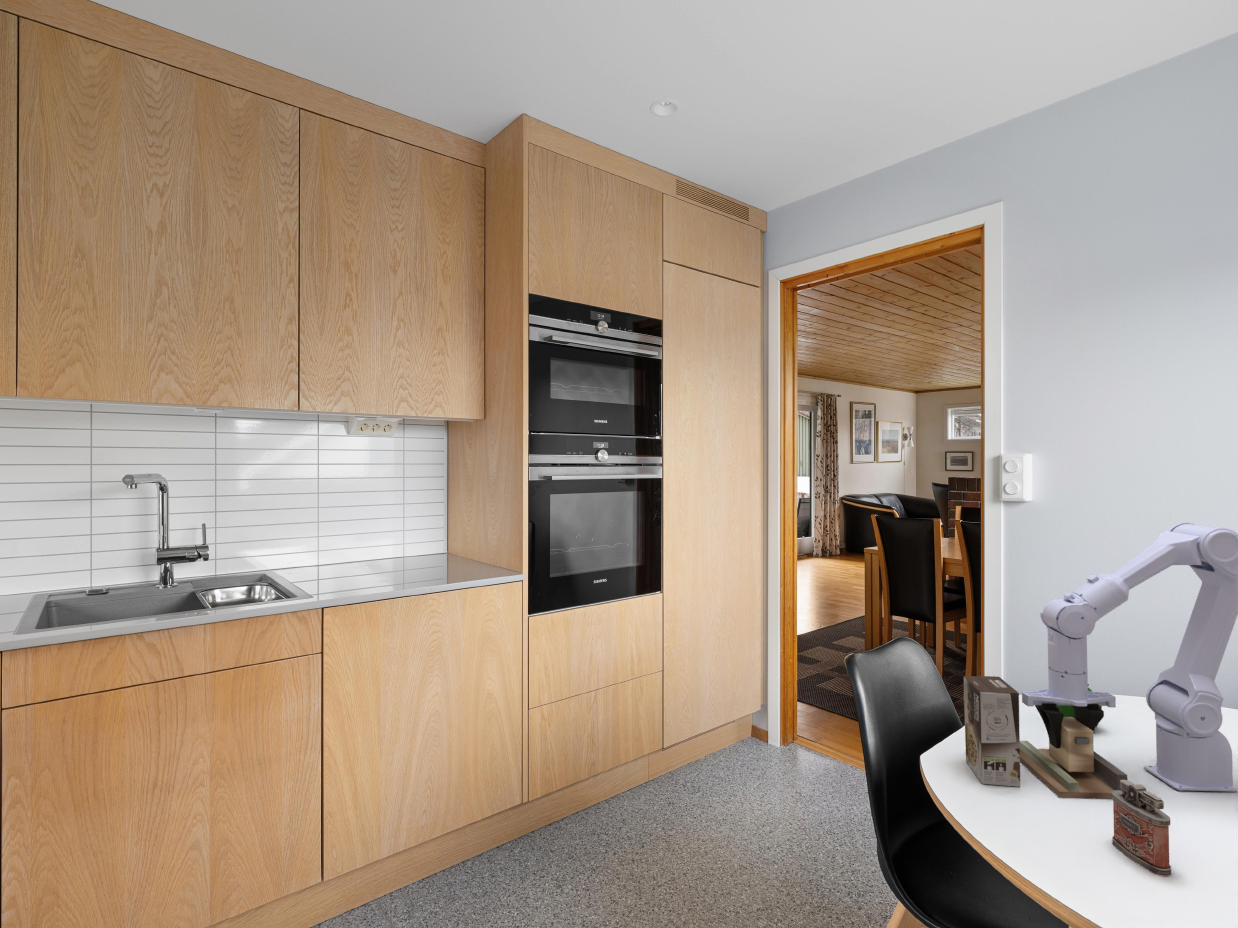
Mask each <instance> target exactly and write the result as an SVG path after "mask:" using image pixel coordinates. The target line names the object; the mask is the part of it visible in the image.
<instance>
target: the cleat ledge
mask: <svg viewBox="0 0 1238 928" xmlns="http://www.w3.org/2000/svg"><path fill="white" fill-rule="evenodd" d="M1020 764H1022V765H1023V766H1024V767H1025V768H1026V769H1027V770H1028V771H1029V772H1031V774H1033V775H1034V776H1035V777H1036V778H1037V779H1039V781H1040V782H1042V783H1043V784H1044V785H1045V786H1046V787H1047V788H1048V787H1049V788H1050V789H1049V788H1048V789H1049V790H1051V791H1052V793H1054V794H1055V795H1056V796H1057V795H1058V796H1059V797H1063V798H1062V799H1091V800H1092V799H1093V798H1096V799H1097V800H1098V799H1099V798H1100V799H1099V800H1101V799H1102V800H1113V799H1112V791H1115V790H1120V791H1121V787H1120V780H1128V774H1127V773H1126V772H1124V771H1122V770H1121V769H1120V768H1118V767H1117V766H1116V765H1114V764H1113V763H1111V762H1110V761H1109V760H1107V759H1105V758H1104V757H1103V756H1101V755H1100V754H1099V753H1097V752H1096V751H1094V772H1069V771H1068V770H1066V769H1065V768H1064V767H1063V766H1062V765H1060V764H1059V763H1058V762H1057V761H1056V760H1054V759H1053V758H1052V757H1051V756H1050V755H1049V748H1037V747H1035V746H1034V745H1033V744H1032V743H1031V742H1029V741H1028V740H1020ZM1058 796H1057V797H1058Z"/></svg>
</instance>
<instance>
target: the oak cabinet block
mask: <svg viewBox="0 0 1238 928" xmlns="http://www.w3.org/2000/svg"><path fill="white" fill-rule="evenodd" d="M1048 749H1049V755H1050V756H1051V757H1052V758H1053V759H1054V760H1056V761H1057V762H1058V763H1059V764H1060V765H1062V766H1063V767H1064V768H1065V769H1066V770H1068V771H1069V772H1094V752H1095V750H1094V732H1093V731H1092V730H1091V729H1089V728H1088V727H1086V726H1085V725H1083V724H1082V723H1080V722H1079V721H1077V720H1076V719H1074V718H1073V717H1063V721H1062V726H1061V747H1060V748H1055V747H1054V746H1053V745H1051V744H1050V741H1049V740H1048Z"/></svg>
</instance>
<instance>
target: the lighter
mask: <svg viewBox="0 0 1238 928" xmlns="http://www.w3.org/2000/svg"><path fill="white" fill-rule="evenodd" d="M1120 787H1121V791H1120V790H1115V791H1112V799H1111V800H1112V805H1113V806H1112V807H1113V810H1112V811H1113V836H1112V838H1111V841H1112V842H1111V843H1112V845H1113V847H1115V848H1116V849H1117V850H1118V851H1119V852H1120V853H1122V855H1124V856H1126V857H1127V859H1129V860H1131V861H1132V862H1134V863H1135V864H1137V865H1138V866H1140V867H1141V868H1143V869H1145V870H1147V871H1149V872H1150V873H1152V874H1154V875H1156V876H1157V875H1158V876H1160V877H1161V876H1162V877H1170V876H1171V875H1172V865H1171V864H1170V834H1169V833H1170V831H1169V829H1170V826H1171V817H1170V816H1169V815H1168V814H1166V813H1165V812H1164V811H1162V810H1164V809H1165V805H1164V803H1165V801H1164V800H1163V799H1162V798H1161V797H1159V796H1157V795H1156V794H1154V793H1152V792H1151V791H1147V788H1146V787H1145V786H1144V785H1143V784H1135V783H1133V782H1131V781H1129V780H1128V779H1127V780H1120Z"/></svg>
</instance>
